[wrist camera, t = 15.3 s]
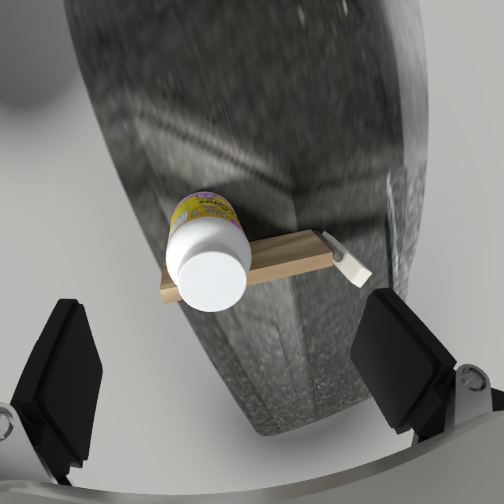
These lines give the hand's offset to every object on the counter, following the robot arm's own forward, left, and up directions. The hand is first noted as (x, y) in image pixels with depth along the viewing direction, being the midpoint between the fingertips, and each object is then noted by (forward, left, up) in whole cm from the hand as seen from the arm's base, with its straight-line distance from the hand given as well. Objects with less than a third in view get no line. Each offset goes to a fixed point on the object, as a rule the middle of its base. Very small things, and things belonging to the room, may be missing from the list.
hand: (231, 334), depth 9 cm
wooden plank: (+4, +8, -23) cm, 24 cm away
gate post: (-2, +16, -23) cm, 28 cm away
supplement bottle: (+3, +2, -23) cm, 24 cm away
